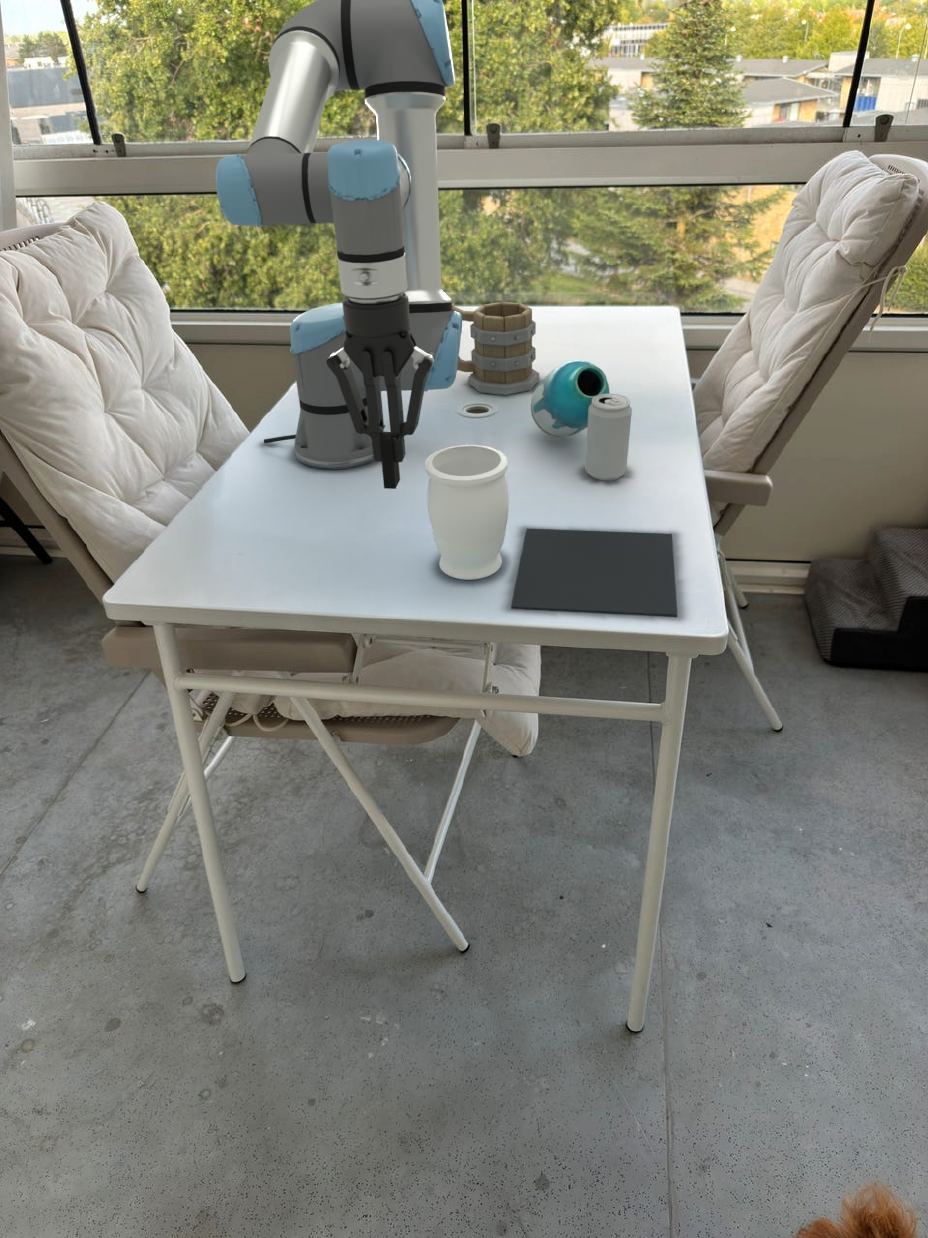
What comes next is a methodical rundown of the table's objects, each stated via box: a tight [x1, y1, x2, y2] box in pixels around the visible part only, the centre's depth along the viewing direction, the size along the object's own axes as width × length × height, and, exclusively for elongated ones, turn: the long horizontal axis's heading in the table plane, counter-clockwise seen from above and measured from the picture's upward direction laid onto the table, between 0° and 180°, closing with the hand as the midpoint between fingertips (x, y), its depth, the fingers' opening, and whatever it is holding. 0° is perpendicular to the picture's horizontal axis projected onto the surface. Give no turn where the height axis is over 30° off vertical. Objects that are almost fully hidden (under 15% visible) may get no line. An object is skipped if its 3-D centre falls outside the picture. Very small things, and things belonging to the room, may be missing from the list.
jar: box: [424, 444, 510, 581], centre depth 120 cm, size 11×10×15 cm
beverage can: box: [584, 393, 633, 481], centre depth 141 cm, size 6×6×12 cm
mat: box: [510, 527, 678, 617], centre depth 121 cm, size 20×20×1 cm
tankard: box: [452, 301, 540, 396], centre depth 177 cm, size 20×13×15 cm, turn 69°
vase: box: [530, 359, 610, 438], centre depth 149 cm, size 11×11×19 cm
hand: (392, 483), depth 119 cm, fingers closed
